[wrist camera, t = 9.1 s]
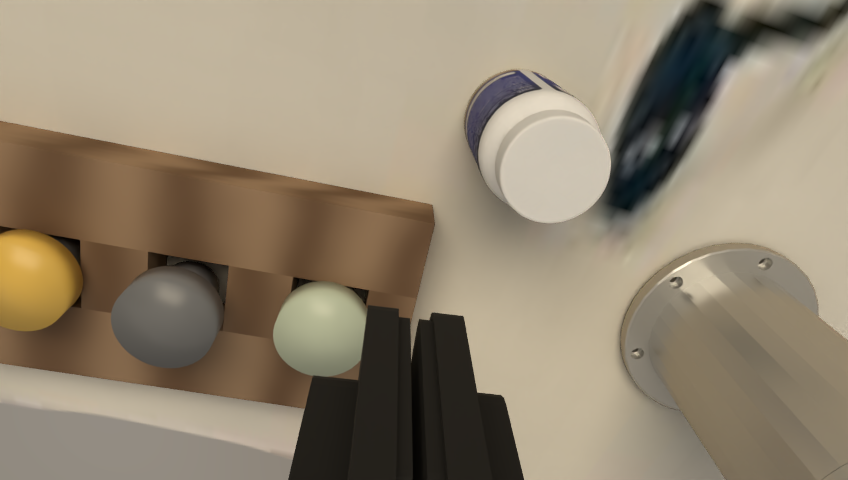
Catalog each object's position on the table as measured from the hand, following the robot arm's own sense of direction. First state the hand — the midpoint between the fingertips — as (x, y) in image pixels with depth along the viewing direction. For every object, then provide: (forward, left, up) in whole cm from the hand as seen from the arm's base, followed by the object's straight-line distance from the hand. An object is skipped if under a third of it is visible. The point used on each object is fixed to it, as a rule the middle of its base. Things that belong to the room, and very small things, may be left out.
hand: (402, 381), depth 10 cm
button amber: (+8, +21, -24) cm, 32 cm away
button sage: (-5, +11, -24) cm, 27 cm away
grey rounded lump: (+1, +16, -23) cm, 27 cm away
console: (+1, +16, -24) cm, 29 cm away
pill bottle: (-5, -4, -25) cm, 25 cm away
